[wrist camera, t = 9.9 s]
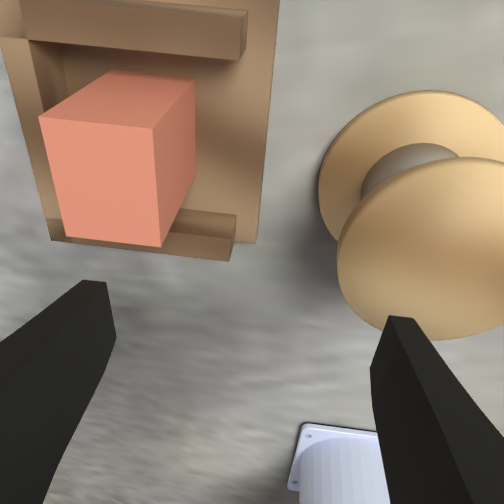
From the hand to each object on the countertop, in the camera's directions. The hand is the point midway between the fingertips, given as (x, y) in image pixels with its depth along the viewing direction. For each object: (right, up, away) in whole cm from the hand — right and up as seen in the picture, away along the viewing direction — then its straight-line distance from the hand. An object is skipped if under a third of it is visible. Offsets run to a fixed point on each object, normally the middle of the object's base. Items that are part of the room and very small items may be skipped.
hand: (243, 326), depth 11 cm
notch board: (-4, +7, +7) cm, 11 cm away
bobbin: (+7, +5, +8) cm, 12 cm away
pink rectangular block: (-4, +7, +6) cm, 10 cm away
